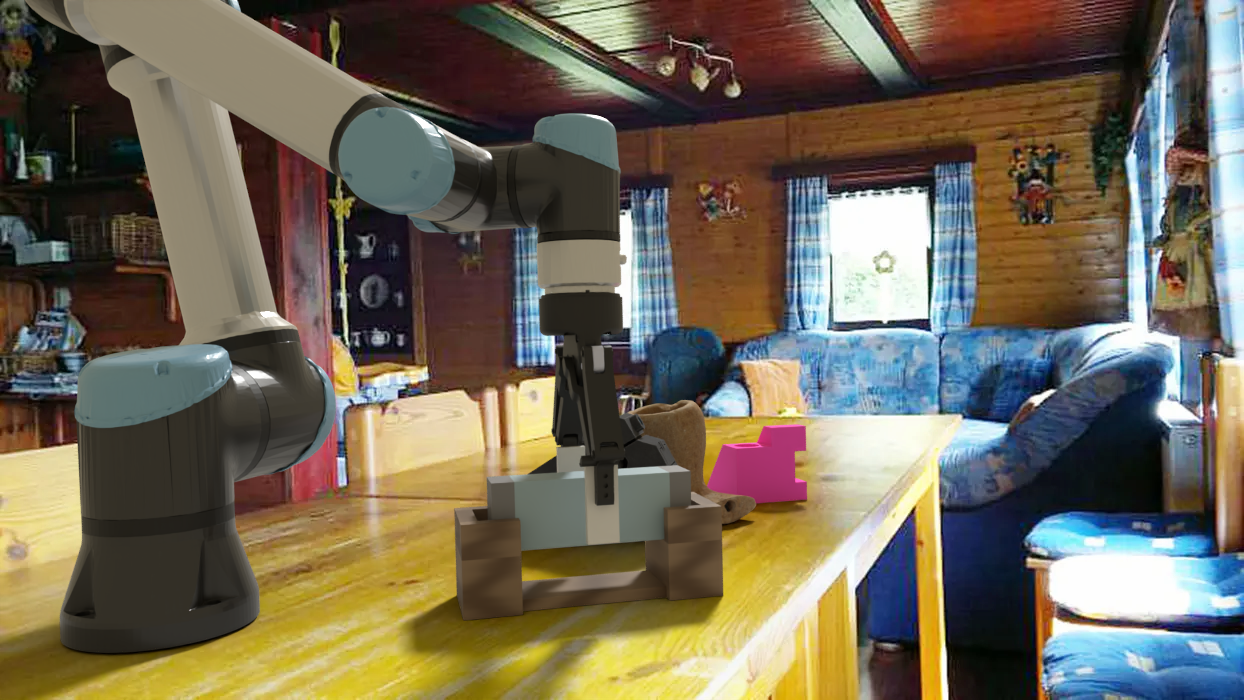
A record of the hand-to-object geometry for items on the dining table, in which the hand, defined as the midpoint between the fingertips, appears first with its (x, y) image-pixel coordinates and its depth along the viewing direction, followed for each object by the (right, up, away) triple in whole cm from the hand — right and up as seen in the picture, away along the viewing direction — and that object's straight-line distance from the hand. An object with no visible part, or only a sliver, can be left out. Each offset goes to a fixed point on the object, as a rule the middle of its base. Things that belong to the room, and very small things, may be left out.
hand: (586, 527), depth 85 cm
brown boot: (+11, -5, +33) cm, 35 cm away
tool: (+1, -6, +22) cm, 23 cm away
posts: (0, -6, 0) cm, 6 cm away
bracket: (+22, -5, +49) cm, 54 cm away
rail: (0, -1, 0) cm, 1 cm away
